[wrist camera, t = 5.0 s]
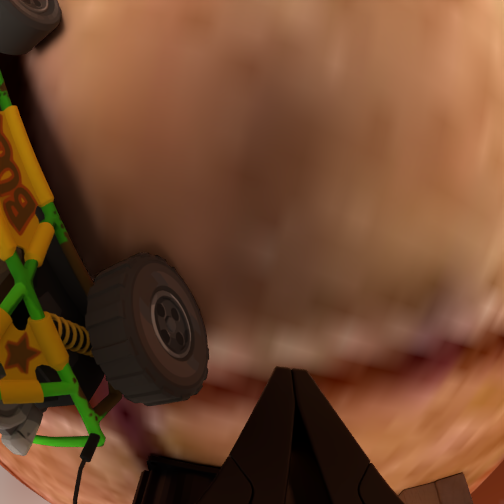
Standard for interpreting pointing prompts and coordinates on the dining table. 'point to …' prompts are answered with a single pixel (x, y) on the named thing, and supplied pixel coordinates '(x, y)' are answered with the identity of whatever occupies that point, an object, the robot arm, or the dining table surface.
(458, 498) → the wooden toy
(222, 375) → the dining table surface
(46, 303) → the motor vehicle
